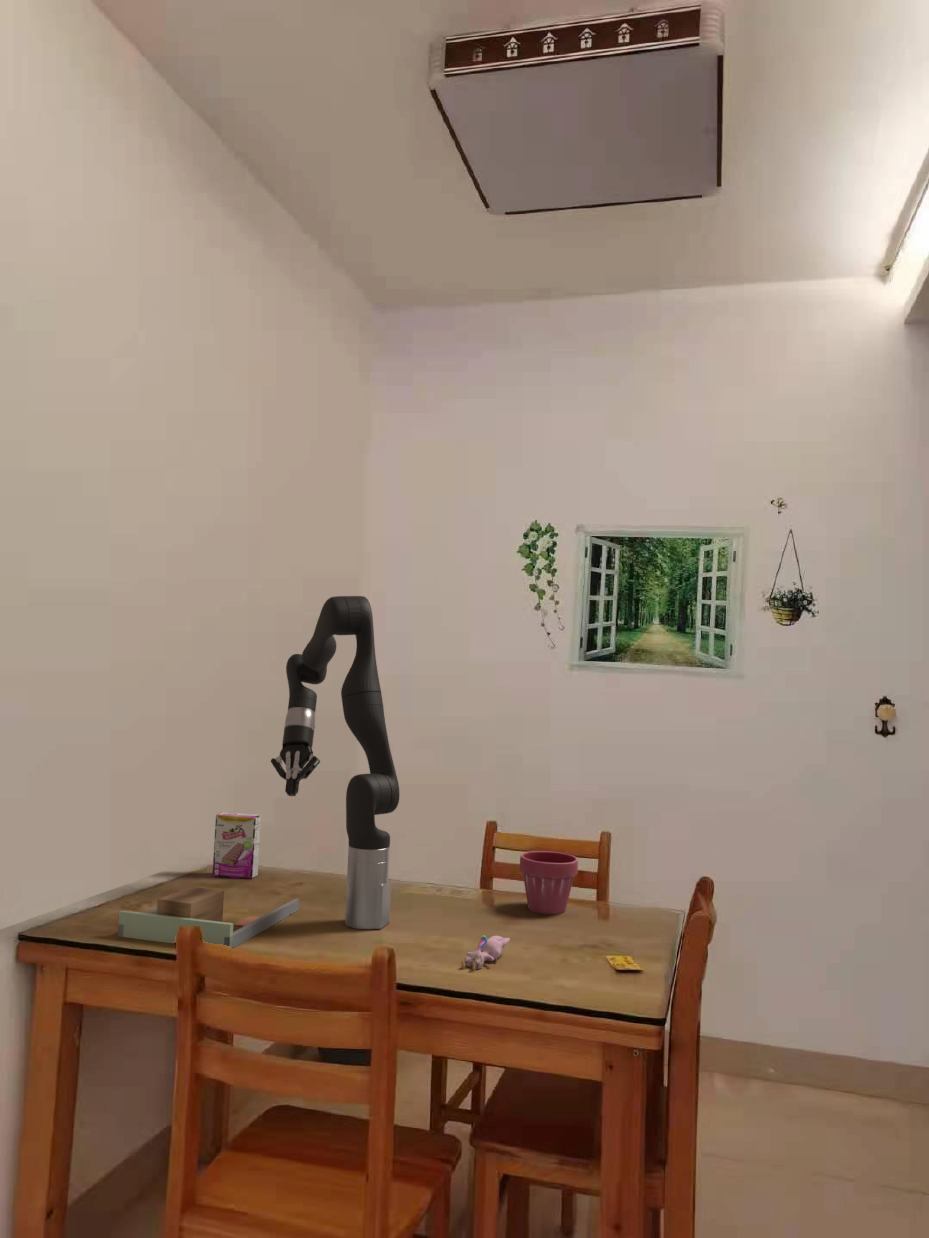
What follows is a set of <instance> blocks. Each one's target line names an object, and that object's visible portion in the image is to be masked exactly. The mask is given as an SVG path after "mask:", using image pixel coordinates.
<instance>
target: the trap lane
mask: <svg viewBox="0 0 929 1238" xmlns="http://www.w3.org/2000/svg"><path fill="white" fill-rule="evenodd" d="M296 911H297V912H298V911H300V899H299V898H293V899H292V900H290V901H288V902H286V903H285V904H283V905H281V906H279V907H277V908H275V909H273V910H271V911H269V912H268V913H266V914H264V915H262V916H259V917H258V916H252V915H251V916H250V915H249V916H247V917H246V918H243V919H241V920H239V921H238V922H235V923H234V922H226V921H225V922H224V921H222V922H218V921H210V920H201V919H192V918H184V917H175V916H167V915H158V914H157V907H156V908H153V909H151V910H149V911H146V912H142V911H140V912H139V911H131V910H120V911H119V913H118V926H117V928H118V929H117V937H119V938H127V939H134V940H135V939H136V940H143V941H152V942H158V943H160V942H161V943H167V944H174V941H175V936H176V933H177V930H178V927H179V926H200V927H201V929H202V932H203V940H204V941H205V942H208V943H213V944H223V945H227V946H231V947H233V948H232V949H234V948H236V947H237V946H239V945H241V944H243V943H245V942H246V941H248V940H249V939H251V938H253V937H255V936H257V935H259V934H260V933H262V932H263V931H266V930H267V929H269V928H270V926H271V927H272V926H274V925H276V924H278V923H279V922H281V921H283V920H284V918H285V917H286V918H288V917H290V916H291V915H293V914H295V913H297V912H296ZM294 912H295V913H294ZM290 914H291V915H290ZM289 915H290V916H289ZM287 916H288V917H287ZM286 918H285V919H286ZM280 920H281V921H280ZM278 921H279V922H278ZM277 922H278V923H277ZM241 926H244V927H241ZM234 927H240V928H238V929H237V930H234Z"/></svg>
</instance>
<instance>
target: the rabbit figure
mask: <svg viewBox="0 0 929 1238" xmlns="http://www.w3.org/2000/svg"><path fill="white" fill-rule="evenodd" d="M510 940H511V939H510V938H509V937H502V936H499V935H493V936H491V937H489V938H488V937H487V936H486V935H485V934H484V935H481V937H480V940H479V942H478V945H477V948H476V949H475V950H474V951H469V952H466V955H467V957H464V959H462V962H461V965H460V968H462V969H464V968H466V966H467V967H468V968H471V970H473V972H475V971H476V970H480V969H482V968H483V966H484V964H485V963H484V962H485V961H487V962H493V961H494V960H497V959H499V958H500V957H501V955H502V949H504V947H506V945H507V944H508V943H509V942H510ZM465 964H466V965H465Z"/></svg>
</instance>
